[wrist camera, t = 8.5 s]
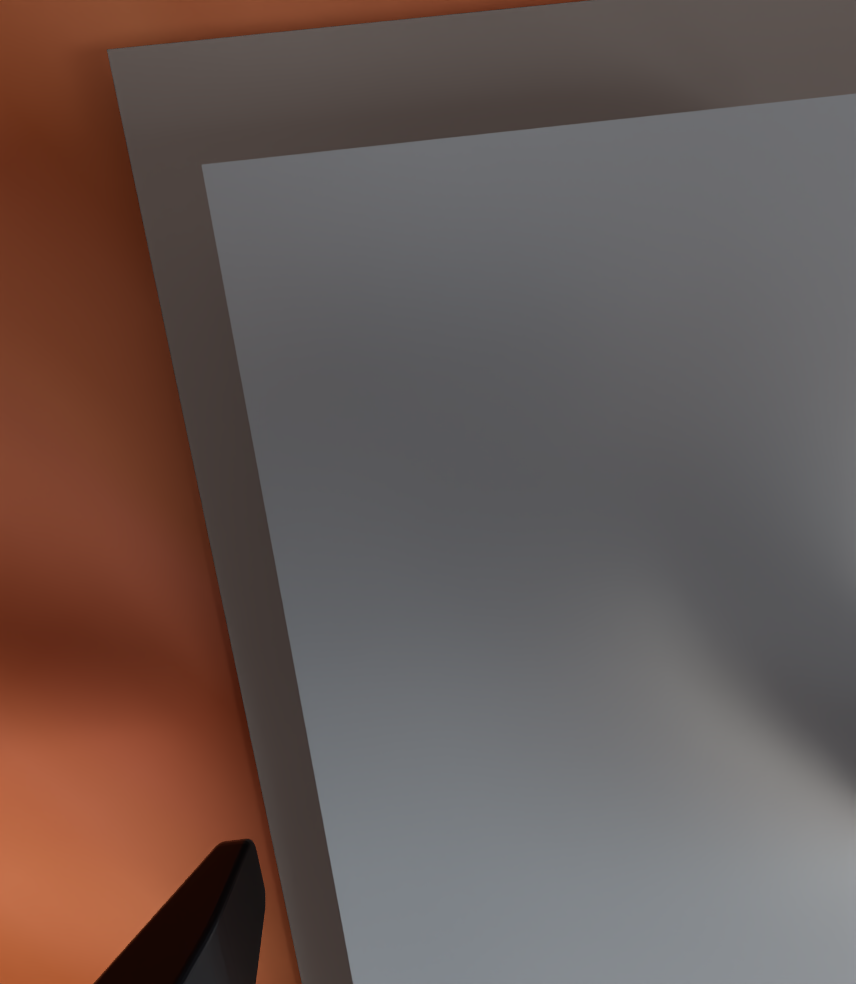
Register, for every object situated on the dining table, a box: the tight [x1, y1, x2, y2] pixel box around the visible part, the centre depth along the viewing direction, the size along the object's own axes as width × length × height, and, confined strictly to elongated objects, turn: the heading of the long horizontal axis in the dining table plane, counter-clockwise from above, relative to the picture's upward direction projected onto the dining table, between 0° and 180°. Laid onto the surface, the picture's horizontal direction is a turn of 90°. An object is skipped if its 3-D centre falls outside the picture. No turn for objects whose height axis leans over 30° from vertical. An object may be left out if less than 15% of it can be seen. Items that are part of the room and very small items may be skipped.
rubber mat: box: [107, 0, 856, 984], centre depth 10 cm, size 10×20×1 cm, turn 6°
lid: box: [202, 94, 856, 984], centre depth 9 cm, size 7×16×2 cm, turn 6°
